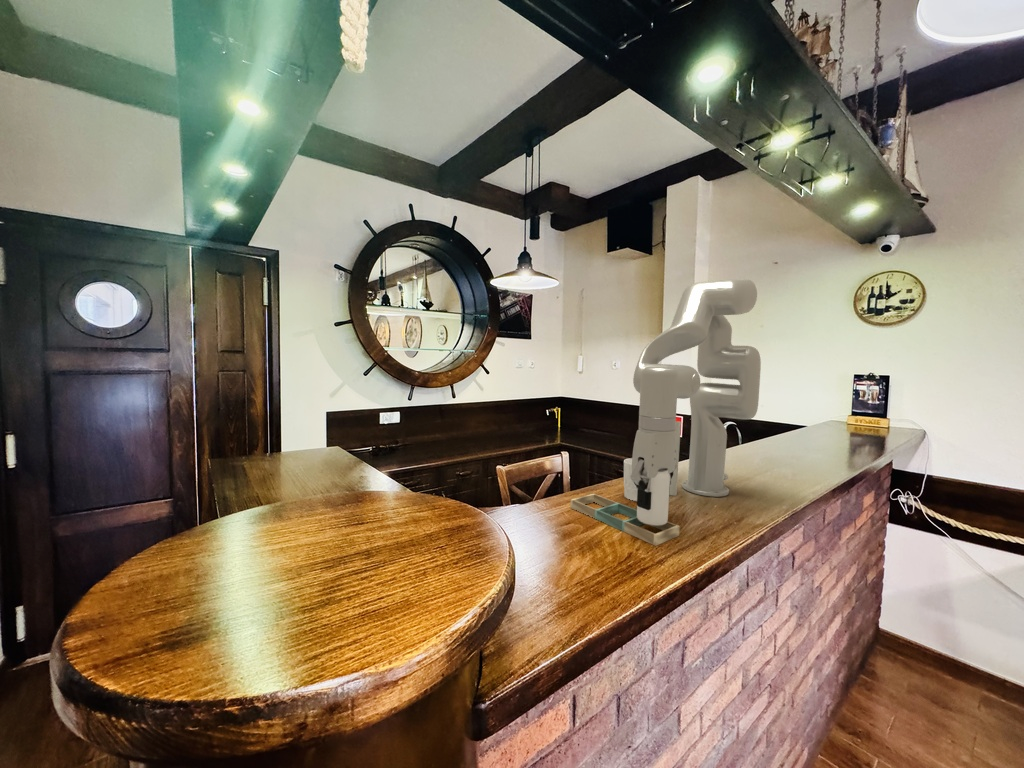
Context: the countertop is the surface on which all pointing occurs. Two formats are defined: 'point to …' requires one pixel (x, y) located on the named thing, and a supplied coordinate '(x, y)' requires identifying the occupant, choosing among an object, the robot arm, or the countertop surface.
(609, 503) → the slot rack
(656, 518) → the can
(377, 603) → the countertop surface
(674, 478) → the paper towel roll
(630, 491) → the white cup
